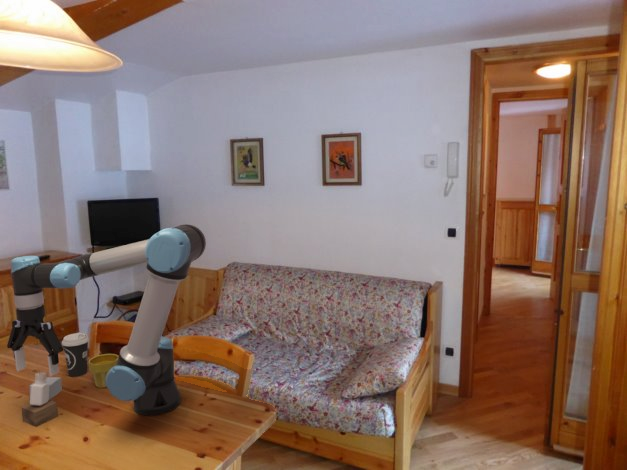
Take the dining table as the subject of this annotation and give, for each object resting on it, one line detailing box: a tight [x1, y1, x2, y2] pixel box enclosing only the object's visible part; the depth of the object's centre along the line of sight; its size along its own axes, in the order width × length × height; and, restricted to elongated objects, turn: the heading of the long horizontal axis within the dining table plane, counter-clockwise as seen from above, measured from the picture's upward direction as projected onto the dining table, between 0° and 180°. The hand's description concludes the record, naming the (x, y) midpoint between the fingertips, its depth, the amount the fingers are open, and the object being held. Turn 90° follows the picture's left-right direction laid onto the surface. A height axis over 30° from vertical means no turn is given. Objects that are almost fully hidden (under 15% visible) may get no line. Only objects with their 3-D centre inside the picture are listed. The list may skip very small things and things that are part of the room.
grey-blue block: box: [28, 376, 63, 400], centre depth 160 cm, size 7×7×5 cm
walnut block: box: [21, 399, 59, 428], centre depth 144 cm, size 7×7×5 cm
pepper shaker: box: [29, 371, 49, 406], centre depth 144 cm, size 4×4×10 cm
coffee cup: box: [61, 332, 90, 378], centre depth 177 cm, size 10×10×15 cm
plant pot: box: [87, 353, 119, 389], centre depth 168 cm, size 10×10×10 cm
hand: (37, 371), depth 143 cm, fingers open, 13 cm apart
